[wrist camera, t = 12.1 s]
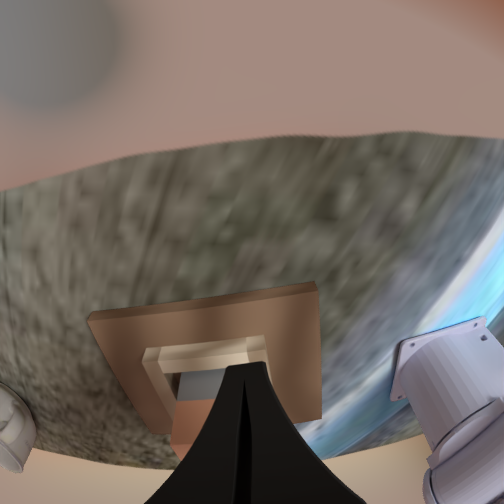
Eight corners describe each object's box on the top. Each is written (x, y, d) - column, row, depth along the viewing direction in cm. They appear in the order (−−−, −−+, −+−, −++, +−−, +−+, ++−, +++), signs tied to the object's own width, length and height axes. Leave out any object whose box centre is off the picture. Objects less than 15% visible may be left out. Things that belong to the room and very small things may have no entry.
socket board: (314, 281, 21) (323, 303, 18) (319, 409, 27) (324, 431, 24) (92, 311, 21) (79, 333, 19) (153, 424, 27) (149, 446, 25)
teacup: (13, 425, 29) (-6, 467, 22) (-38, 367, 25) (-66, 409, 18) (77, 426, 28) (58, 482, 21) (16, 356, 24) (-20, 414, 16)
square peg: (236, 359, 22) (237, 441, 16) (246, 394, 24) (249, 470, 17) (182, 365, 22) (169, 444, 16) (196, 399, 24) (189, 472, 17)
